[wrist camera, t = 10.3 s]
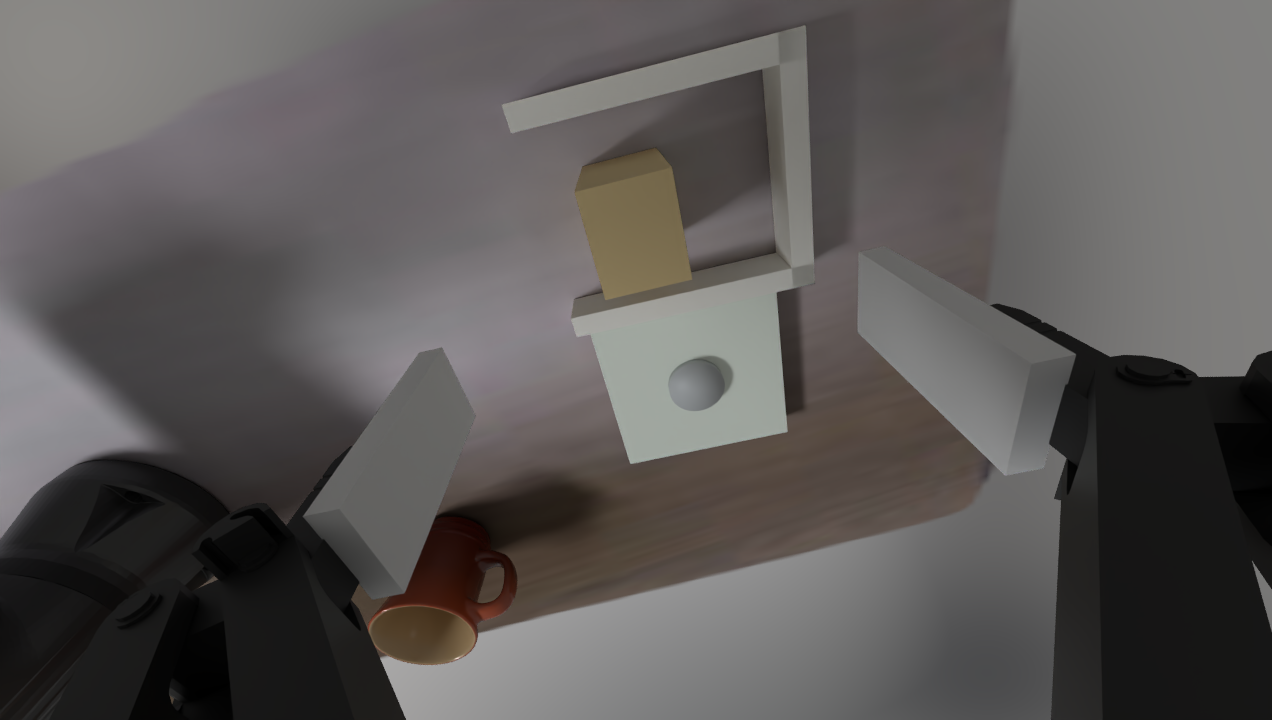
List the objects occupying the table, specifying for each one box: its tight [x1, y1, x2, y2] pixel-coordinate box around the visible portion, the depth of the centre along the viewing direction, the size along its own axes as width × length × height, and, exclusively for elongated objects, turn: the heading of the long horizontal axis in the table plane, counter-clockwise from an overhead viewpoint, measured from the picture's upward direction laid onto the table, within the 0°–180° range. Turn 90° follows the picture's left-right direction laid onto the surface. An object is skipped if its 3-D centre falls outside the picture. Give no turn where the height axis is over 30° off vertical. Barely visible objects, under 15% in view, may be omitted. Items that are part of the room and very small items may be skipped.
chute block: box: [574, 148, 692, 300], centre depth 29 cm, size 5×6×9 cm
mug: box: [368, 516, 517, 665], centre depth 44 cm, size 12×9×10 cm
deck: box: [502, 25, 815, 464], centre depth 35 cm, size 17×29×4 cm, turn 13°
